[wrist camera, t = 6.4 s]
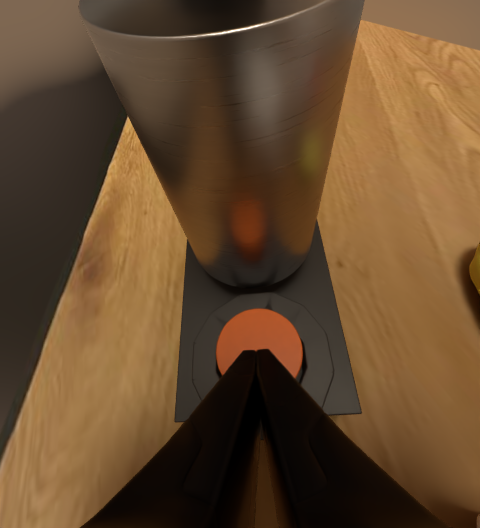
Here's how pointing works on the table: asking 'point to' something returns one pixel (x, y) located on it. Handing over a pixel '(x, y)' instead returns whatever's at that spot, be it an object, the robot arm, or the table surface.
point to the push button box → (276, 299)
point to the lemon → (476, 269)
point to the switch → (260, 339)
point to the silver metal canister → (233, 116)
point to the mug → (478, 521)
